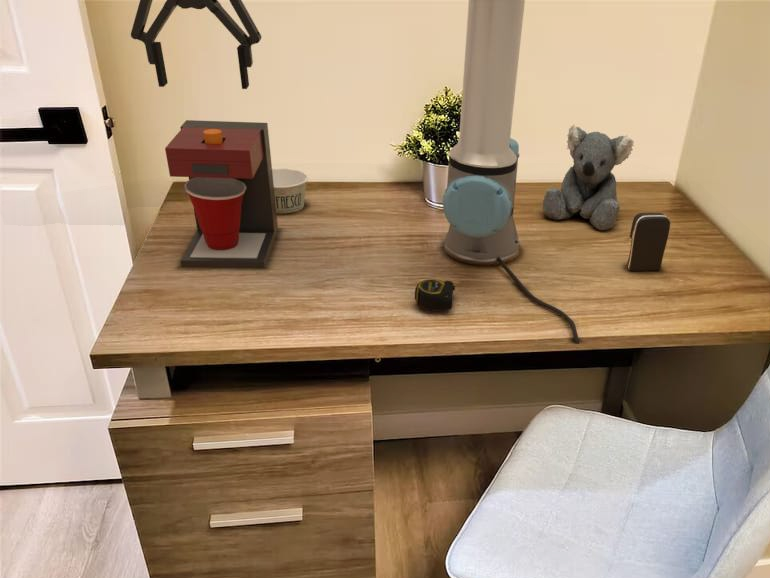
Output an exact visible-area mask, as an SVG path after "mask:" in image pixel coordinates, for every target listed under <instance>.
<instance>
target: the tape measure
mask: <svg viewBox="0 0 770 578" xmlns="http://www.w3.org/2000/svg"><path fill="white" fill-rule="evenodd" d="M414 288H415V289H414V300H415V303H416V305H417V306H418V307H420V308H422V309H424V310H427V311H431V312H432V311H433V312H434V311H449V310H451V309H452V308H453V301H454V300H453V296H454V291H455V290H456V285H454V282H453V281H451V280H444V281H443V280H441V279H436V278H428V279H424V280H421V281H419V282H418V283H417V285H416V286H415V287H414Z"/></svg>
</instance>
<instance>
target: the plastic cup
mask: <svg viewBox="0 0 770 578" xmlns="http://www.w3.org/2000/svg"><path fill="white" fill-rule="evenodd" d="M183 187H184V189H185V192H186V193H187V194H188V197H189V199H190V202H191V205H192V206H193V211H194V210H195V213H196V216H197V219H198V222H199V225H200V228H201V231H202V232H203V235H204V238H205V241H206V244H207V245H208V247H209V248H211V249H214V250H227V249H231V248H234V247H235V246H237V244H238V241H239V228H240V218H241V203H242V198H243V194H244V192H245V190H246V188H247V187H246V185H245V184H244V183H243V182H241V181H240V180H238V179H235V178H207V177H196V178H193V179H191V180H189V179H188V180H186V181H185V183H184V185H183ZM195 213H194V214H195Z"/></svg>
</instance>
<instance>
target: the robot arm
mask: <svg viewBox="0 0 770 578" xmlns="http://www.w3.org/2000/svg"><path fill="white" fill-rule="evenodd" d="M153 1H154V0H139V3H138V7H137V10H136V13H135V17H134V21H133V24H132V27H131V32H130V37H131V38H132V39H133V40H136V41H137V40H138V41H139V42H140V41H141V42H142V43H144V47H145V53H146V57H147V62H148V63H149V65H154V68H155V73H156V78H157V83H158V87H159V88H165V86H166V85H167V84H168V83H169V82H168V76H167V71H166V65H165V59H164V54H163V49H162V42H161V41H156V39H157V38H158V36H159V34H160V32H161V31H162V29H163V28H164V26H165V24H166V23H167V22H168V20H169V19H170V17H171V16H172V14H173V12H174V11H175V9H176V8H177V7H179V8H181V9H186V10H187V9H190V8H192V9H196V10H203V9H205V8H207V10H209V12H210V13H212V14H213V15H214V16H215V17H216V18H217V19H218V21H219V22H220V23H221V24H222V25H223V27H225V29H226V30H227V31H228V32H229V33H230V34H231V36H233V38H234V39H235V40H236V41H237V42H238V43H239V45H238V46H237V47H236V51H237V58H238V59H237V60H238V67H239V76H240V84H241V89H242V90H247V89H248V88H249V86H250V79H249V71H248V68H252V67H253V64H254V60H253V51H252V46H253V45H256V44H259V43H260V41H261V40H262V34H261V33H260V31H259V28H258V27H257V26H256V23H255V22H254V20H253V18H252V17H251V15H250V13H249V11H248V9H247V7H246V5H245V4H244V2H243V0H228V1H229V2H230V5H231V6H232V8H233V10H234V12H235V13H236V15H237V16H238V18H239V20H240V22H241V24H242V25H243V27H244V29H245V31H246V32H245V31H244V30H243V29H242V28H241V27H240V26H239V24H238V23H237V22H236V21H235V20H234V18H233V17H232V16H231V15H230V14H229V13H228V11H226V10H225V9H224V7H223V5H222V4H221V2H219V0H166V1H165V2H164V4H163V6H162V8H161V9H160V11H159V13H158V14H157V16H156V17H155V19H154V20H153V22H152V24H151V25H150V27H149V28H148V30H147V32H146V31H145V28H146V25H147V22H148V18H149V15H150V11H151V7H152V4H153ZM525 4H526V0H468V6H467V17H466V18H467V20H466V36H465V46H464V47H465V49H464V62H463V63H464V64H463V77H462V93H461V107H460V120H459V121H460V122H459V134H458V135H459V136H458V141H457V143H456V144H455V145H454V146H453V147H451V148H450V150H449V153H448V168H447V182H446V188H445V190H444V194H443V195H442V209H443V214H444V216H445V218H446V220H447V222H448V223H449V227H448V230H447V233H446V234H445V237H444V243H443V247H444V253H446V255H448V256H449V257H450V258H451V259H453V260H456V261H458V262H461V263H464V264H467V265H472V266H473V265H474V266H482V267H483V266H486V267H487V266H498V265H500V266H501V267H502V268H503V269H504V271H505V272H506V273H507V275H508V276H509V277H510V278H511V279H512V281H513V282H514V283H515V284H516V286H517V287H518V288H519V289H520V290H521V292H523V293H524V295H525V296H527V297H528V298H529V299H530V300H532V301H533V302H534V303H536V304H537V305H539V306H541V307H543V308H545V309H547V310H550V311H552V312H554V313H556V314H557V315H559V316H560V317H562V318H563V319H564V320H565V321H566V322H567V323H568V325H569V326H570V329H571V334H572V338H573V342H574V344H575V345H579V344H580V340H579V335H578V331H577V330H578V329H577V326H576V324H575V321H573V320H572V318H571V317H570V316H569V315H568V314H566V313H565V312H564V311H563V310H560V309H559V308H558V307H556V306H553V305H551V304H549V303H547V302H545V301H542V300H541V299H539V298H538V297H536V296H534V294H532V292H530V291H529V290H528V289H527V288H526V287H525V286H524V285H523V283H522V282H521V281H520V280H519V279H518V277H517V276H516V275H515V274H514V273H513V271H512V270H511V269H510V268H509V267H508V265H507V264H506V263H509V262H512V261H514V260H515V259H516V258H518V256H519V253H520V239H519V235H518V231H517V227H516V222H515V219H514V210H515V209H514V208H515V200H516V199H515V197H516V189H517V188H516V187H517V186H516V185H517V174H518V165H519V163H518V161H519V158H520V153H519V150H520V149H519V148H520V146H519V142H518V141H517V140H516V139H514V138H512V137H511V133H512V124H513V116H514V107H515V106H514V105H515V97H516V89H517V88H516V87H517V79H518V78H517V77H518V70H519V69H518V67H519V60H520V51H521V50H520V49H521V42H522V41H521V40H522V32H523V22H524V14H525V13H524V12H525ZM246 33H247V34H246Z"/></svg>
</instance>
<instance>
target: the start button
mask: <svg viewBox="0 0 770 578" xmlns="http://www.w3.org/2000/svg"><path fill="white" fill-rule="evenodd" d="M203 133H204V140H205V144H223V140H222V132H221V130H218V129H208V130H205V131H203Z"/></svg>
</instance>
